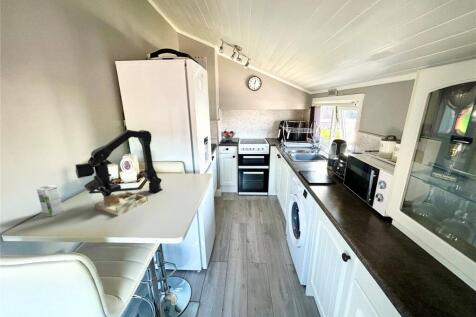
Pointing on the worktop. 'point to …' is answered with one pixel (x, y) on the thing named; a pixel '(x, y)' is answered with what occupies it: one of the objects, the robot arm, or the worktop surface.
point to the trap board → (123, 203)
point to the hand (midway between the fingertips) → (107, 200)
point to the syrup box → (50, 200)
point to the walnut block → (111, 200)
